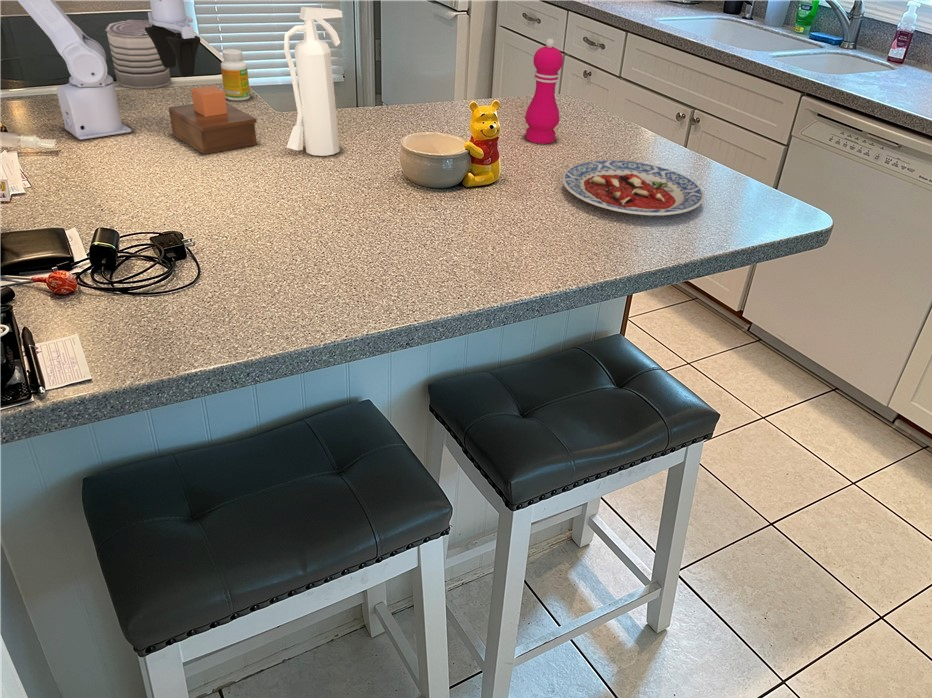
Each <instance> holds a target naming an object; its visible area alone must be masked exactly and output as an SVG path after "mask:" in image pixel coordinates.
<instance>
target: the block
mask: <svg viewBox="0 0 932 698" xmlns="http://www.w3.org/2000/svg"><path fill="white" fill-rule="evenodd" d="M190 90H191V96H192V97H191V98H192V104H194V111H196V112H198V113H200V114H201V115H203V116H205V117H208V116H215V115H221V114H227V106H226V103H227V98H225V92H224V90H222V89H220V88H218V87H216V86H214V85H210V86H202V87H195V88H194V87H193V88H190Z"/></svg>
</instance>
